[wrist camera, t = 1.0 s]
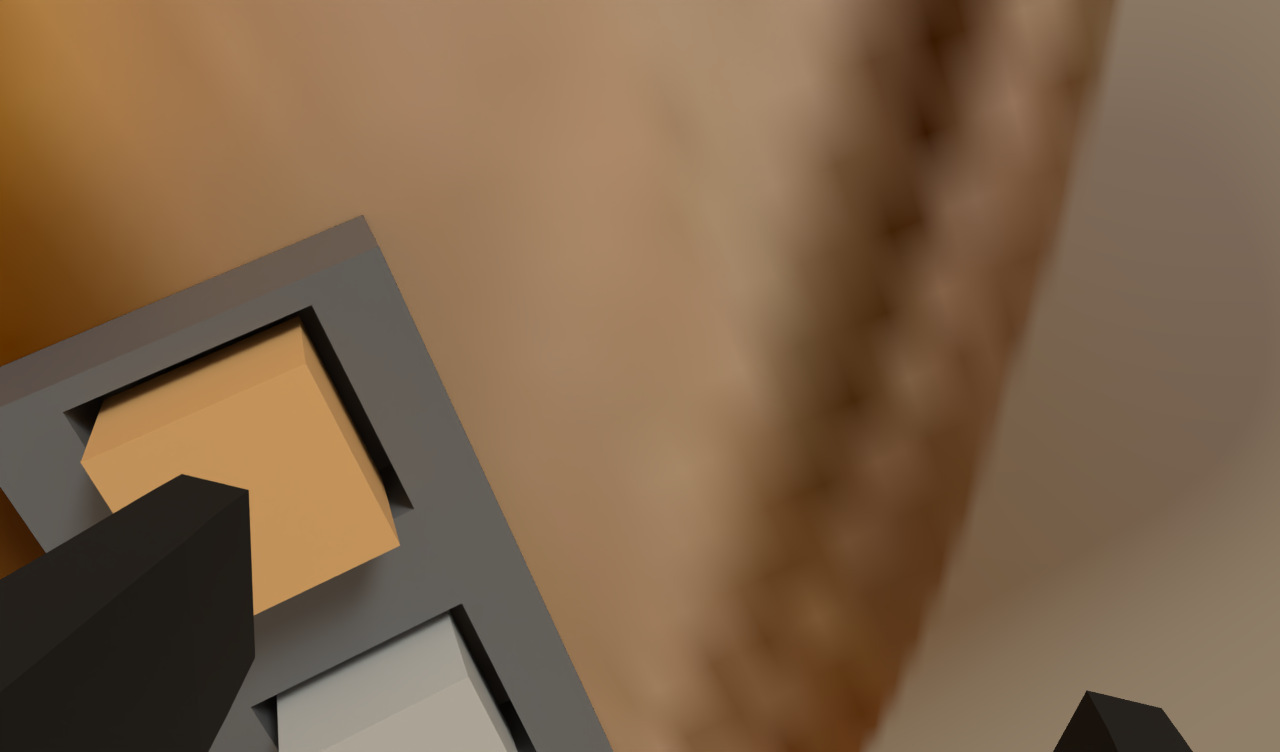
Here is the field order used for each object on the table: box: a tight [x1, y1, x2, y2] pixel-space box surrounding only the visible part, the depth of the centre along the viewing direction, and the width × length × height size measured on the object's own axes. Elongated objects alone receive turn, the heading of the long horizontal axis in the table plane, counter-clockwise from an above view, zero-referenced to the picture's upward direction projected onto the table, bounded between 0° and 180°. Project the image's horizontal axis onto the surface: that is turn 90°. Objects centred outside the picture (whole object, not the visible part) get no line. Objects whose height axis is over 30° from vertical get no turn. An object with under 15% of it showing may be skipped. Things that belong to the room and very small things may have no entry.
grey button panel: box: [0, 215, 613, 752], centre depth 19 cm, size 6×15×2 cm, turn 21°
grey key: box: [277, 610, 518, 752], centre depth 18 cm, size 3×3×2 cm
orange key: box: [81, 316, 400, 615], centre depth 16 cm, size 3×3×2 cm
